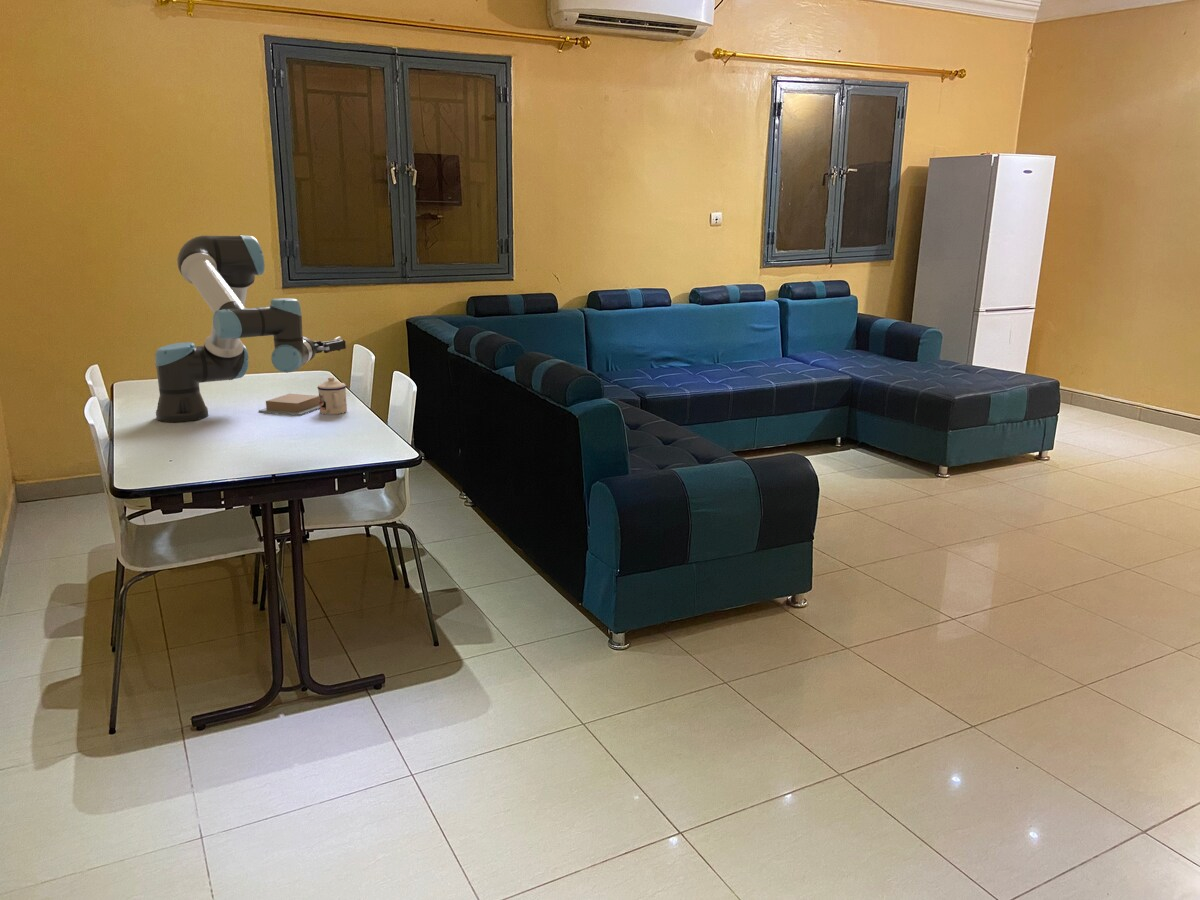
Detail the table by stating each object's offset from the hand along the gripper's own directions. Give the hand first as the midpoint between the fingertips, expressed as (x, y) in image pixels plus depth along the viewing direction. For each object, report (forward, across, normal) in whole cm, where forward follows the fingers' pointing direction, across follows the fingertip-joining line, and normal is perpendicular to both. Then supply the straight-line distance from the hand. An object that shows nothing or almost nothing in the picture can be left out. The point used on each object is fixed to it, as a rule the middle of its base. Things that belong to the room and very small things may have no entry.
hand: (317, 340), depth 269 cm
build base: (+21, -14, -26) cm, 36 cm away
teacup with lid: (+15, 0, -26) cm, 30 cm away
